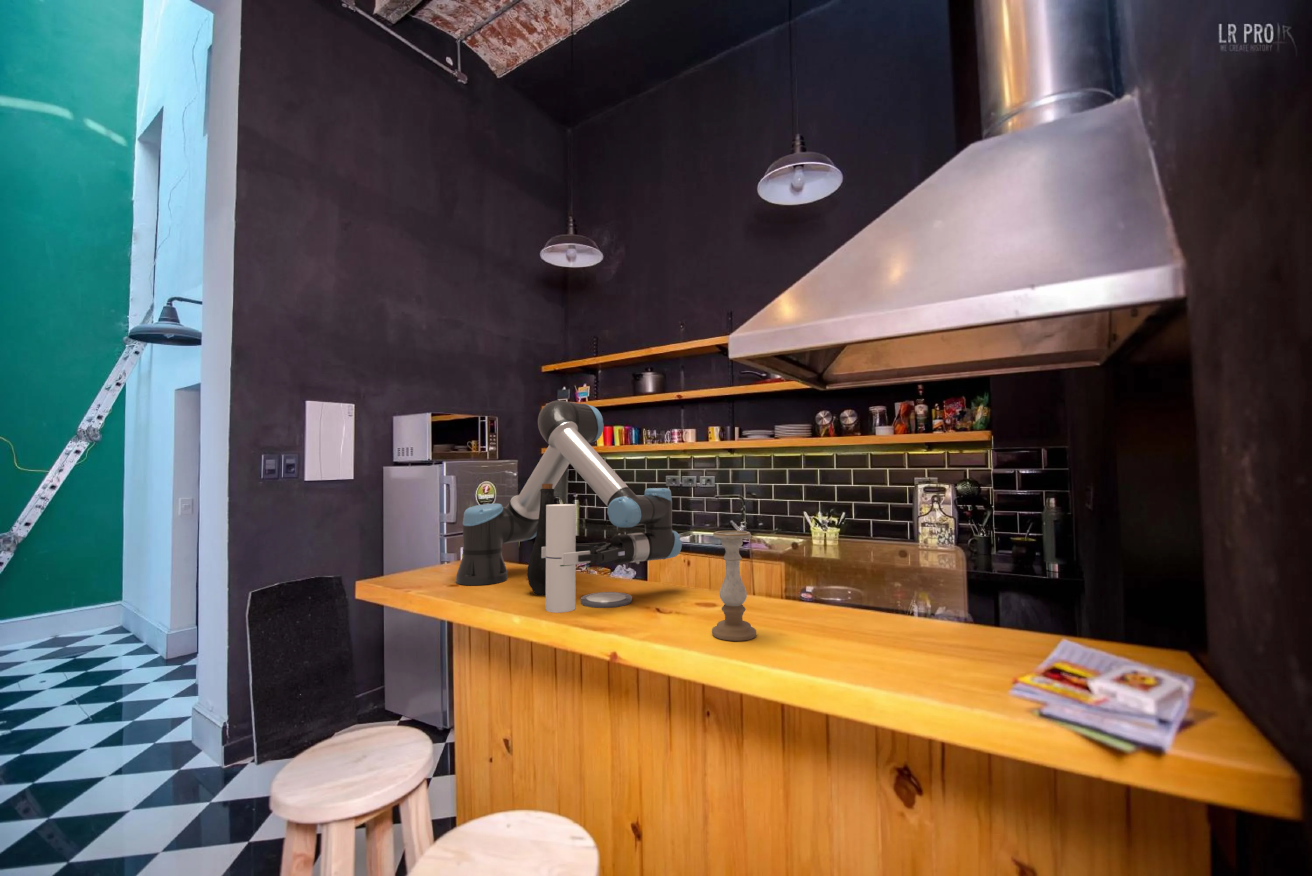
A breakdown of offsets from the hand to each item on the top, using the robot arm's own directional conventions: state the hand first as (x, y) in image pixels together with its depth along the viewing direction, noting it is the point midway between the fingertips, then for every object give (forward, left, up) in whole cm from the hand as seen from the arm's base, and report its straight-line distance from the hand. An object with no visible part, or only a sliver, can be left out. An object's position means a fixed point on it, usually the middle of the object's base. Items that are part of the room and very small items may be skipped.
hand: (552, 555), depth 127 cm
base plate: (0, +15, -13) cm, 20 cm away
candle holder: (+40, +22, -13) cm, 47 cm away
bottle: (-19, +6, -13) cm, 24 cm away
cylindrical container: (0, +2, -13) cm, 13 cm away
